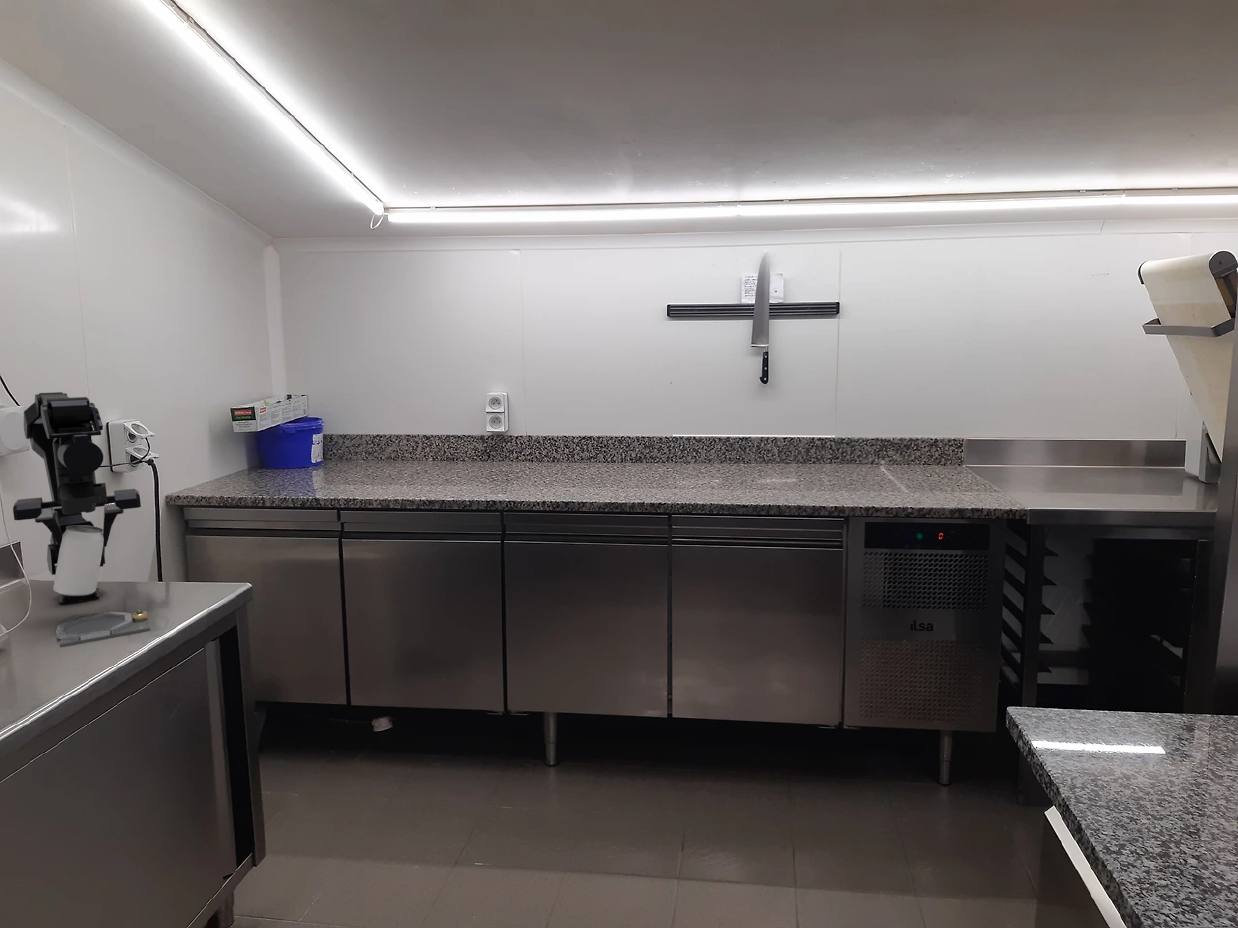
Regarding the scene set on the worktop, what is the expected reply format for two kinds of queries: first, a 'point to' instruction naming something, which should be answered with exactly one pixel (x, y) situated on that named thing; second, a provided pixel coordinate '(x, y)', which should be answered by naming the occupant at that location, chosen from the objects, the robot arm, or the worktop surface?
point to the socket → (115, 629)
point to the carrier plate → (103, 625)
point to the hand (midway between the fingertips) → (84, 548)
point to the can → (79, 561)
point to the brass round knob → (139, 616)
